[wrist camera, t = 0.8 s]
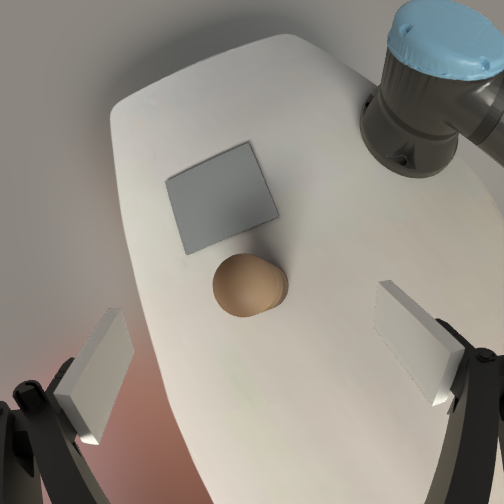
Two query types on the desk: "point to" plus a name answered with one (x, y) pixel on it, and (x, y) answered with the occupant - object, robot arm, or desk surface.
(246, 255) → the walnut canister
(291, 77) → the desk surface
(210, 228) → the slate mat
